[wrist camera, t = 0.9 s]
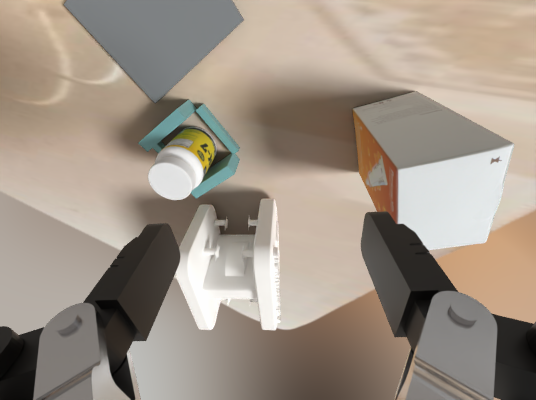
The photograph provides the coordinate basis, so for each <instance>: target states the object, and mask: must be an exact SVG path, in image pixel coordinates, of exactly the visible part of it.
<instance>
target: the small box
mask: <svg viewBox="0 0 536 400" xmlns="http://www.w3.org/2000/svg"><path fill="white" fill-rule="evenodd" d="M352 111H353V118H354V125H355V134H356V143H357V154H358V165H359V174H360V176H361V178H362V180H363V182H364V184H365V186H366V188H367V190H368V193H369V195H370V197H371V199H372V201H373V203H374V205H375V207H376V210H377V212H384V211H387V212H389V214H390V215H391V217H392V218H393V220H394V221H395V223H396V224H404V225H406V226H407V227H409V228H410V229H411V230H413V231H414V232H415V233H416V234H417V235H418V237H419V238H420V240H421V241H422V242H423V245H425V247H426V248H427V249H428V250H434V249H442V248H449V247H457V246H464V245H472V244H480V243H485V242H486V241H487V238H488V235H489V232H490V229H491V226H492V223H493V219H494V216H495V213H496V210H497V208H498V205H499V203H500V200H501V197H502V192H503V187H504V181H505V177H506V174H507V170H508V167H509V163H510V159H511V155H512V152H513V149H514V143H512V142H510V141H508V140H506V139H504V138H502V137H501V136H499V135H497V134H495V133H493V132H492V131H490V130H488V129H486V128H484V127H482V126H480V125H478V124H477V123H475V122H473V121H471V120H469V119H467V118H465V117H463V116H462V115H460V114H458V113H456V112H454V111H452V110H450V109H449V108H447V107H445V106H443V105H441V104H439V103H438V102H436V101H434V100H432V99H430V98H428V97H426V96H424V95H423V94H421V93H419V92H417V91H416V92H412V93H408V94H405V95H401V96H397V97H394V98H390V99H386V100H383V101H379V102H375V103H372V104H368V105H364V106H361V107H357V108H353V109H352Z"/></svg>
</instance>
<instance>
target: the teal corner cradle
mask: <svg viewBox="0 0 536 400" xmlns="http://www.w3.org/2000/svg"><path fill="white" fill-rule="evenodd" d="M194 111H196V112H197V113H198V114H199V115H200V116H201V118H202V119H203V120H204V121H205V122H206V123H207V125H208V126H209V127H210V128H211V129H212V131H213V132H214V133H215V134H216V135H217V136H218V138H219V139H220V140H221V141H222V142H223V143H224V145H225V146H226V147H227V148H228V149H229V150H230V152H231V154H229V155H228V156H227V157H225V158H224V159H222V160H221V161H219V162H218V163H216V164H215V165H214V166H212V167H211V168H209V169H208V171H207V173H206V174H205V176H204V178H203V180H202V182H201V183H200V184H199V185H198V186H197V187H196V188H194V189H193V190H192V191H191V194H192V195H193V196H194V197H195V198H196V199H197V198H198V197H200V196H201V195H203V194H204V193H206V192H207V191H209V190H211V189H212V188H214V187H215V186H217V185H218V184H220V183H221V182H223V181H224V180H226V179H228V178H229V177H231V176H232V175H234V174H235V172H236V169H237V166H238V163H239V160H240V159H239V158H238V157H237V156H236V154H235V153H236V152H238V151H239V148H240V147H239V146H238V145H237V143H236V142H235V141H234V140H233V139H232V137H231V136H230V135H229V134H228V132H227V131H226V130H225V129H224V128H223V126H222V125H221V124H220V123H219V122H218V120H217V119H216V118H215V117H214V115H213V114H212V113H211V112H210V111H209V109H208V108H207V107H206V106H205V104H202V105H201V106H200V107H199V108H198V109H197V108H196V107H195V106H194V105H193V104H192V102H191V101H190V100H188V101H186V102H185V103H184V104H182V105H181V106H180V107H178V108H177V109H176V110H175V111H174V112H173V113H171V114H170V115H169V116H168V117H167V118H166V119H165V120H164V121H162V122H161V123H160V124H159V125H158V126H157V127H156V128H154V129H153V130H152V131H151V132H150V133H149V134H148V135H147V136H145V137H144V138H143V139H142V140H141V141H140V142H139V144H140V145H141V146H142V147H143V148H144V149H145V150H146V151H147V152H148V151H149V150H150V149H152V148H153V149H154V150H155V151H156V152H157V153H158V154H159V152H160V151H161V150H162V149H163V148H164V147H165V145H164V144H163V143H162V142H161V140H162V139H163V138H165V137H166V136H167V135H168V134H169V133H171V132H172V131H173V130H174V129H175V128H176V127H178V126H179V125H180V124H181V123H182V122H184V121H185V120H186V119H187V118H188V117H189V116H190V115H191V114H192V113H193V112H194Z"/></svg>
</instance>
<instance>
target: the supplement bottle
mask: <svg viewBox="0 0 536 400" xmlns="http://www.w3.org/2000/svg"><path fill="white" fill-rule="evenodd" d="M216 152H217V148H216V143H215V141H214V139H213V137H212V136H211V135H210V134H209V133H208V132H207V131H205V130H204V129H201V128H198V127H188V128H185V129H183V130H182V131H181V132H180V133H179V134H178V135H177V136H175V137H174V138H173V139H172V140H171V141H170V142H169V143H168V144H167V145H166V146H165V147H164V148H163V149H162V150H161V151H160V152H159V154H158V155H157V157H156V160H155V164H154V165H153V166H152V167H151V169H150V170H149V173H148V180H149V183H150V185H151V187H152V188H153V189H154V191H155V192H157V193H158V194H159V195H161V196H162V197H164V198H167V199H170V200H181V199H184V198H186V197H187V196H188V195H189V194H190V193H191V191H192V190H193V189H194V188H196V187H197V186H198V185H199V184H200V183H201V182H202V180H203V178H204V176H205V174H206V173H207V171H208V169H209V167H210V165H211V163H212V162H213V160H214V158H215V156H216Z"/></svg>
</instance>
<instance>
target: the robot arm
mask: <svg viewBox="0 0 536 400" xmlns="http://www.w3.org/2000/svg"><path fill="white" fill-rule="evenodd" d="M361 251H362V256H363V259H364V261H365V264H366V266H367V269H368V271H369V274H370V276H371V279H372V281H373V284H374V286H375V289H376V291H377V294H378V296H379V299H380V301H381V304H382V306H383V309H384V311H385V314H386V317H387V319H388V322H389V324H390V326H391V329H392V332H393V334H394V337H407V338H408V341H409V343H410V345H411V348H410V350H409V354H408V357H407V360H406V363H405V366H404V370H403V373H402V376H401V379H400V382H399V385H398V389H397V392H396V395H395V398H394V400H493V398H494V397H495V398H498V399H501V400H536V322H535V323H534V324H532V323H528V322H524V321H519V320H515V319H511V318H506V317H502V316H498V315H495V314H491V313H490V312H489V310H488V309H487V308H486V307H485V306H483V305H482V304H481V303H479V302H478V301H477V300H475V299H473V298H471V297H470V296H468V295H465V294H462V293H459V292H458V291H457V290H456V288H455V287H454V286H453V284H452V283H451V281H450V280H449V279H448V277H447V276H446V274H445V273H444V272H443V270H442V269H441V267H440V266H439V265H438V263H437V262H436V260H435V259H434V258H433V256H432V255H431V254H430V253H429V251H428V249H427V248H426V247H425V245H423V242H422V241H421V240H420V238H419V237H418V235H417V234H416V233H415V232H414V231H413V230H411V229H410V228H409V227H407V226H406V225H404V224H396V223H395V221H394V220H393V218H392V217H391V215H390V214H389V212H387V211H384V212H367V213H366V214H365V218H364V225H363V231H362V238H361ZM179 263H180V250H179V247H178V245H177V242H176V240H175V237H174V235H173V232H172V230H171V228H170V226H169V225H168V224H166V223H165V224H149V225H147V226H146V227H145V228H144V230H143V231H142V233H141V234H140V235H139V237H136V238H134V239H133V240H132V241H131V242H129V243H128V244H127V245H126V246H124V248H123V249H122V250H121V252H120V253H119V255H118V256H117V259H115V260H114V261H113V263H112V264H111V265H110V266H111V267H110V268H108V270H107V271H106V272H105V274H104V275H103V276H102V278H101V279H100V280H99V282H98V283H97V284H96V286H95V287H94V289H93V290H92V292H91V293H90V294H89V295H88V297H87V298H86V299H85V301H84V302H83V303H79V304H75V305H73V306H70V307H68V308H66V309H64V310H63V311H61V312H60V313H58V314H57V315H56V316H55V317H54V318H52V319H51V320H50V322H49V323H48V324H47V325H46V326H45V327H43V328H40V329H37V330H34V331H31V332H28V333H24V334H21V335H18V334H17V333H15V332H14V331H13V330H11V329H10V328H9V327H4V326H3V327H0V400H141V398H140V393H139V388H138V384H137V380H136V374H135V370H134V366H133V361H132V356H131V353H130V351H129V348H130V346H131V344H132V342H133V341H146V340H147V337H148V335H149V333H150V330H151V328H152V326H153V323H154V321H155V319H156V316H157V314H158V312H159V310H160V307H161V305H162V302H163V300H164V298H165V296H166V293H167V291H168V289H169V286H170V284H171V282H172V280H173V277H174V275H175V273H176V270H177V268H178V266H179Z"/></svg>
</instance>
